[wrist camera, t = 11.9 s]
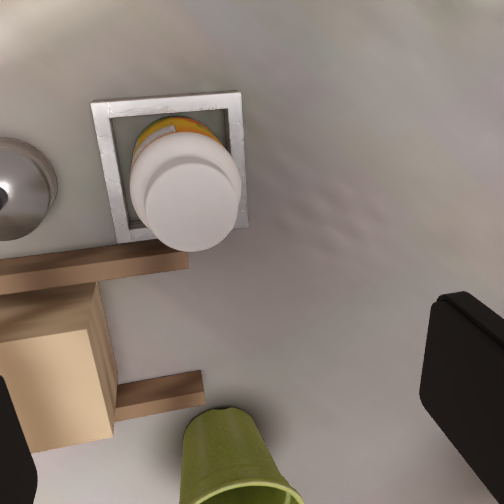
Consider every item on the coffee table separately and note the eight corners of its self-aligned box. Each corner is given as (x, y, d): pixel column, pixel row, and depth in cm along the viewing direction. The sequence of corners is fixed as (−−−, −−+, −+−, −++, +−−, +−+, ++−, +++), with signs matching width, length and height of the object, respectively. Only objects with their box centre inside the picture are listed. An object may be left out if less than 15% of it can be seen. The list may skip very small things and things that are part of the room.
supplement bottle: (237, 169, 29) (277, 221, 20) (168, 217, 29) (179, 288, 20) (187, 95, 26) (209, 118, 18) (113, 148, 27) (98, 196, 18)
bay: (183, 236, 30) (192, 277, 24) (201, 382, 35) (212, 442, 30) (-105, 273, 27) (-168, 329, 21) (-38, 426, 32) (-75, 502, 27)
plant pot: (295, 422, 39) (333, 514, 31) (220, 488, 40) (238, 593, 33) (220, 370, 35) (241, 461, 27) (139, 446, 36) (137, 553, 29)
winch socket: (236, 90, 27) (254, 98, 22) (243, 219, 30) (261, 248, 26) (-61, 111, 24) (-108, 125, 19) (-15, 251, 27) (-46, 290, 23)
